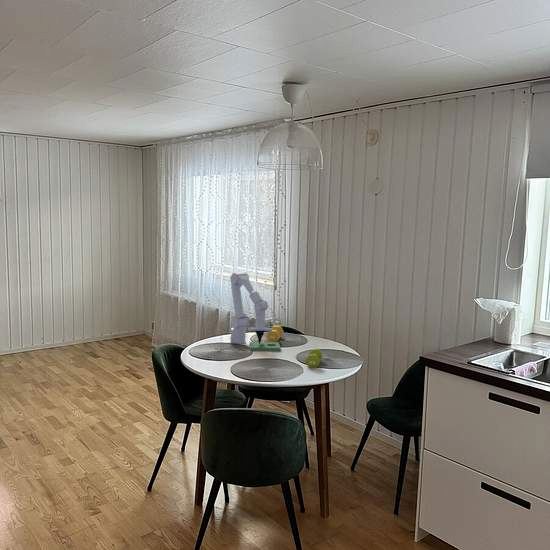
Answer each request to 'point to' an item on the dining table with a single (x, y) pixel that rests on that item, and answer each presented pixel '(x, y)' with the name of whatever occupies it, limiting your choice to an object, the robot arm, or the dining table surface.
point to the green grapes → (314, 358)
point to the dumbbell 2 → (275, 334)
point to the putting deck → (265, 346)
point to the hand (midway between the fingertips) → (259, 343)
